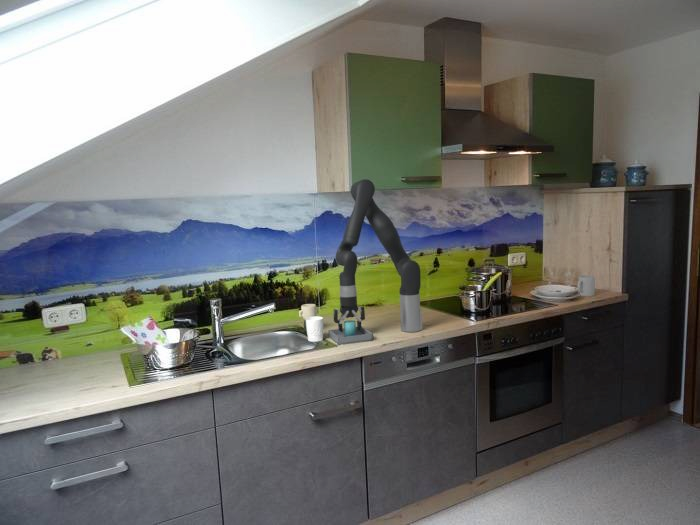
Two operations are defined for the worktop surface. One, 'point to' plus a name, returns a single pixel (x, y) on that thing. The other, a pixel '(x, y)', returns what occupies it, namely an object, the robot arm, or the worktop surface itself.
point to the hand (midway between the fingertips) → (350, 330)
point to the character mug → (308, 312)
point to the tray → (360, 336)
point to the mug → (586, 285)
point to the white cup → (314, 328)
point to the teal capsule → (349, 328)
